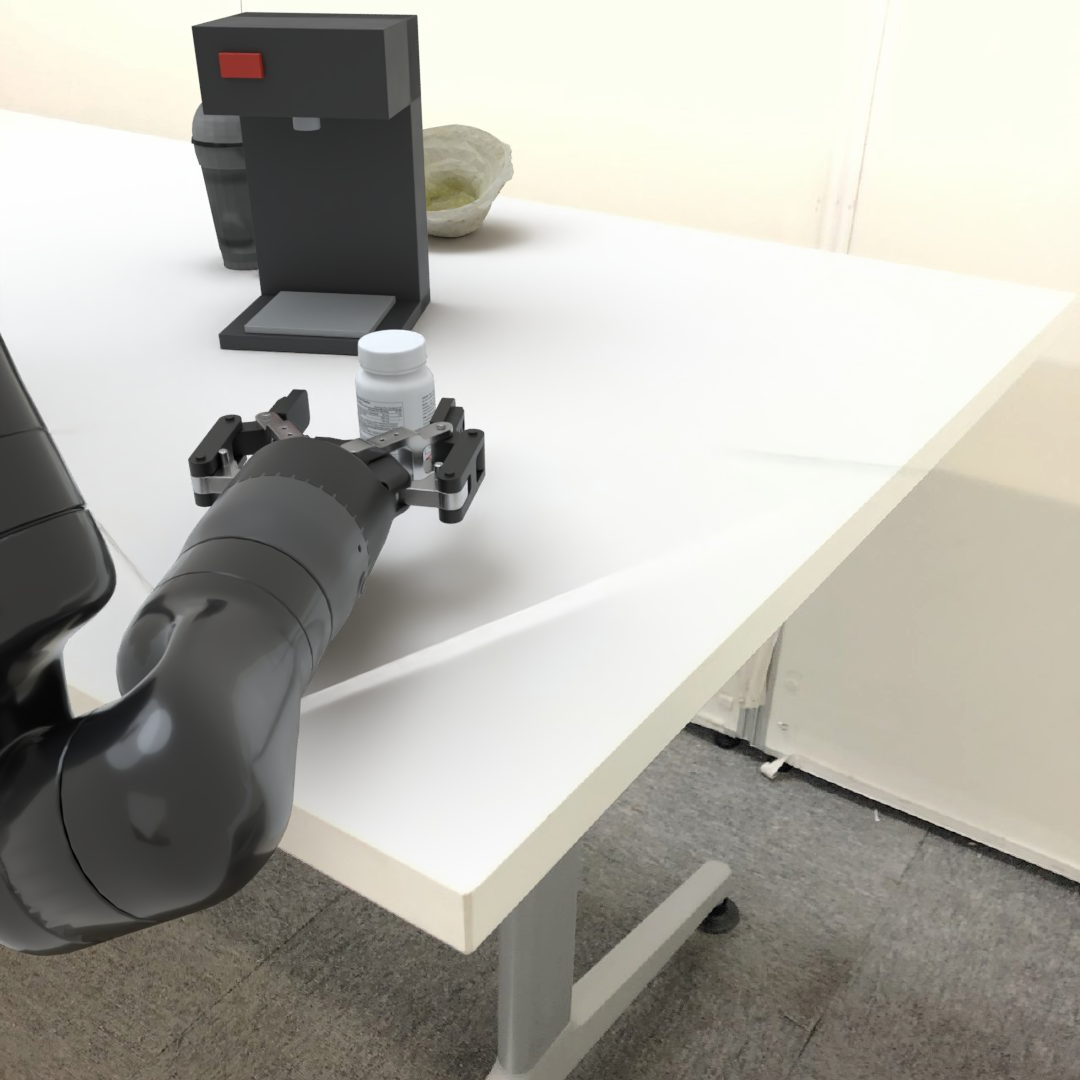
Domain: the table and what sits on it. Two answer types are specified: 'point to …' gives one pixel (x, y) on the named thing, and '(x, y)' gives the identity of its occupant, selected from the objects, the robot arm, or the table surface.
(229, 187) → the beverage cup
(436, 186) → the bowl
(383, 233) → the coffee maker
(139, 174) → the table surface
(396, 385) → the pill bottle
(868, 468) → the table surface
